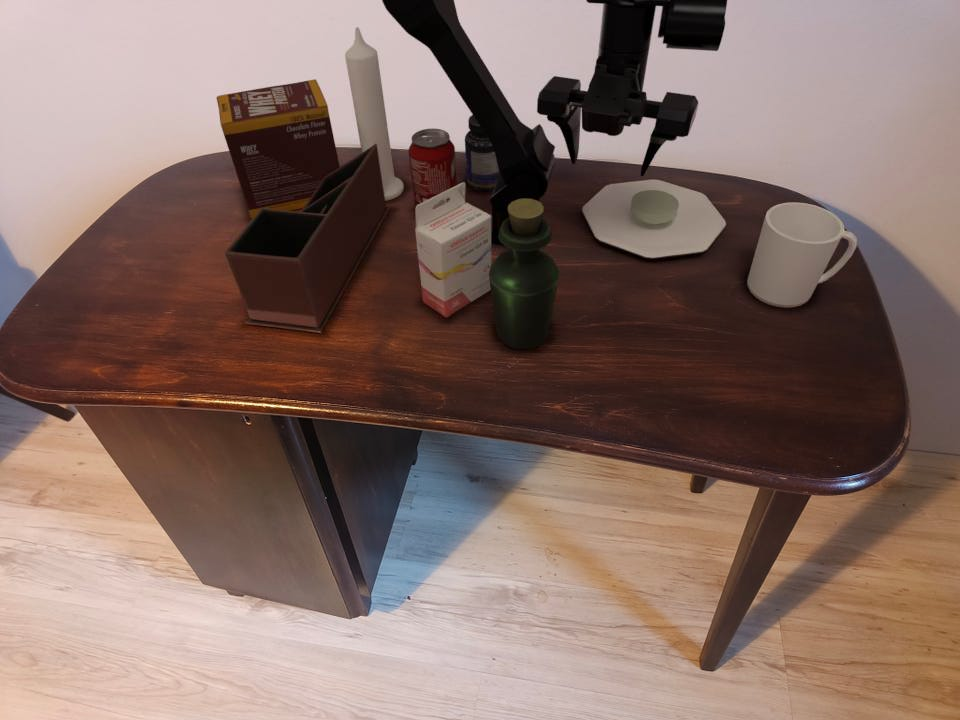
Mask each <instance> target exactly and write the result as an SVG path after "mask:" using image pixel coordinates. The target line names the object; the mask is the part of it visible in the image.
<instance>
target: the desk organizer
mask: <svg viewBox="0 0 960 720" xmlns="http://www.w3.org/2000/svg"><path fill="white" fill-rule="evenodd" d="M386 203H387V202H386V201H385V196H384V190H383V183H382V176H381V170H380V163H379V156H378V150H377V144H374V145H373V146H372V147H370V148H369V149H367V150H366V151H364V152H363V153H362V152H361V153H359V154H358V155H357V156H355V157H354V158H352V159H350V160H349V161H347V162H346V163H344V164H342V165H341V166H339V168H338V169H336V170H335V171H333V172H332V173H330V174H328V175H327V176H325V177H324V178H323V180H322V181H321V183H320V185H319V186H318V188H317V189H316V191H315V192H314V194H313V195H312V196H311V198H310V199H309V201H308V202H307V204H306V205H305V206H304V208H301V211H296V210H291V211H285V210H275V209H267V208H261V209H260V210H259V211H258V212H257V214H256V215H255V216H254V217H253V218H251V220H250V221H249V222H248V224H246V226H245V227H244V229H243V230H241V232H240V233H239V234H238V236H237V237H235V239H234V240H233V242H232V243H231V244H230V245H229V246H228V248H227V249H226V250H225V252H224V255H225V257H226V260H227V263H228V265H229V269H230V271H231V273H232V274H233V278H234V280H235V282H236V285H237V288H238V290H239V294H240V296H241V299H242V301H243V303H244V306H245V309H246V312H247V315H248V318H247V319H246V321H245V324H246V325H251V326H262V327H270V328H279V329H284V330H285V329H286V330H294V331H301V332H309V333H316V334H323V330H324V329H325V327H326V326H327V323H328V321H329V320H330V318H331V316H332V315H333V312H334V311H335V309H336V307H337V305H338V303H339V302H340V300H341V298H342V297H343V295H344V292H345V291H346V288H347V287H348V285H349V284H350V282H351V280H352V278H353V276H354V274H355V272H356V271H357V269H358V267H359V265H360V263H361V261H362V260H363V259H364V256H365V255H366V253H367V251H368V249H369V248H370V247H371V244H372V242H373V240H374V239H375V237H376V235H377V233H378V232H379V230H380V228H381V226H382V225H383V223H384V221H385V219H386V217H387V216H388V213H389V212H390V210H391V208H392V207H390V206H387V205H386Z"/></svg>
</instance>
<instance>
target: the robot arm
mask: <svg viewBox="0 0 960 720" xmlns="http://www.w3.org/2000/svg"><path fill="white" fill-rule="evenodd" d="M381 2H382V4H383V7H384V9H385V10H386V11H387V12H388V14H389V15H390V16H391V17H392V18H393V19H394V20H395V22H397V23H398V25H399V26H400V27H401V28H402V29H403V31H405V33H407V34H408V36H411V37H412V38H414V39H415V40H416V41H418V42H419V43H421V44H422V45H424V46H425V47H427V49H429V50H430V52H431V53H432V55H433V56H434V58H435V59H436V61H437V63H438V64H439V65H440V68H442V71H443V72H444V74H445V75H446V77H447V78H448V79H449V81H450V82H451V84H452V85H453V87H454V88H455V90H456V91H457V93H458V95H459V96H460V97H461V99H462V102H464V103H465V105H466V106H467V107H466V108H468V110H469V112H470V113H471V115H473V116H474V117H475V119H476V120H477V122H478V123H479V125H480V126H481V128H482V130H483V131H484V133H485V134H486V136H487V137H488V139H489V140H490V142H491V143H492V145H493V148H494V152H495V156H496V160H497V164H498V168H499V172H500V175H499V178H498V180H497V183H496V185H495V188H494V190H493V191H492V193H491V196H490V198H489V203H490V205H491V243H494V244H498V245H503V244H502V243H501V242H500V240H499V237H498V235H499V231H500V228H501V225H502V223H503V222H504V221H505V220H506V219H507V218H509V213H508V206H509V204H510V203H511V202H513V201H515V200H518V199H533V200H536V201H538V202H540V203H541V198H542V197H543V196H544V195H545V194H546V192H548V188H549V184H550V181H551V177H552V174H553V171H554V167H555V162H556V157H555V154H554V152H555V149H556V146H555V145H554V143H551V141H550V140H549V138H547V135H546V133H545V129H544V128H543V126H542V125H541V124H540V123H539V124H537V125H535V127H533V128H530V127H529V126H528V125H527V124H525V123H523V122H522V121H521V120H520V118H519V117H518V115H517V113H516V112H515V111H514V109H513V107H512V106H511V104H510V103H509V101H508V100H507V98H506V96H505V94H504V93H503V91H502V89H501V88H500V86H499V84H498V83H497V82H496V80H495V79H494V76H493V75H492V73H491V72H490V70H489V68H488V67H487V66H486V64H485V62H484V61H483V59H482V57H481V56H480V53H478V51H477V49H476V47H475V46H474V44H473V42H472V41H471V39H470V38H469V36H468V34H467V33H466V31H465V29H464V28H463V26H462V25H461V22H460V20H459V16H458V12H457V7H456V4H455V0H381ZM586 3H588V4H603V5H602V13H601V23H600V34H599V40H598V52H597V58H596V59H595V66H594V72H593V75H592V77H591V79H590V82H589V83H588V88H587V90H582V88H581V87H582V83H581V80H580V79H578V78H571V77H563V76H557V75H554V76H552V77H551V78H550V79H549V80H548V81H547V83H545V85H544V86H543V88H541V90H540V91H539V93H538V96H537V103H536V113H537V114H539V115H540V116H541V115H542V116H546V119H547V121H548V122H551V123H553V124H555V125H557V127H558V128H559V129H560V131H561V133H562V136H563V138H564V143H565V146H566V149H567V153H568V155H569V160H570V162H571V164H572V165H575V164H577V161H578V157H579V151H580V135H581V128H582V130H583V131H584V132H587V133H600V134H606V135H607V136H611V137H616V136H619V135H620V134H622V133H623V131H624V129H625V127H629V128H630V127H632V125H637V126H639V125H641V124H642V121H643V119H644V118H646V119H653V120H655V124H654V127H653V129H652V131H651V134H650V137H649V143H648V146H647V148H646V151H645V154H644V158H643V161H642V163H641V167H640V177H645V174H646V172H647V171H648V170H649V167H650V165H651V163H652V162H653V160H654V158H655V156H656V154H658V151H660V149H661V147H662V146H663V145H664V144H665V143H666V142H667V141H668V142H674V141H676V140H677V138H684V137H688V136H689V135H690V132H691V129H692V127H693V124H694V121H695V119H696V116H697V111H698V107H699V101H698V99H697V97H696V95H693V94H685V93H678V92H671V91H666V93H665V95H664V96H663V99H662V101H658V100H650V99H648V96H647V92H646V91H643V90H644V84H645V78H646V72H647V65H648V60H649V59H648V58H649V53H650V47H651V41H652V34H653V29H654V22H655V15H656V10H657V7H661V11H660V16H659V17H660V19H659V24H658V31H657V39H662V44H664V45H665V48H666V49H673V50H674V49H676V50H691V51H692V50H693V51H707V52H708V51H709V52H718V51H719V49H720V46H721V43H722V40H723V37H724V33H725V27H726V12H727V6H728V0H586ZM542 218H543V219H544V213H543V214H542ZM503 246H504V245H503Z"/></svg>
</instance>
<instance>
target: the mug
mask: <svg viewBox="0 0 960 720" xmlns="http://www.w3.org/2000/svg"><path fill="white" fill-rule="evenodd" d="M842 239H844V240H847V242H848V247H847V248H846V250H845V251H844V254H843V255H841V257H840V258H839V260H838V261H836V262H835V264H834V265H833V266H832V267H831V268H830V269H829V270H827V271H826V272H825V270H826V269H827V266H829V265H828V264H830V263H829V262H830V261H831V259H832V257H833V255H834V254H835V251H836V249H837V247H838V245H839V244H840V242H841V240H842ZM857 247H858V238H857V236H855V234H854V233H853V232H851V231H848V230H845V226H844V222H843V221H842V220H841V219H840V218H839V217H838V216H837V214H835V213H833V212H832V211H830V210H827V209H826V208H824V207H821V206H818V205H815V204H811V203H806V202H796V201H794V202H793V201H791V202H782V203H779V204H776V205H773V206H772V207H770V208H769V209H768V210H767V211H766V215H765V216H764V220H763V224H762V227H761V230H760V234H759V237H758V241H757V245H756V248H755V252H754V255H753V258H752V262H751V266H750V269H749V273H748V276H747V280H746V283H747V288H748V290H749V292H750V293H751V294H752V295H753V296H754V297H755V298H756V299H757V300H759V301H760V302H762V303H764V304H766V305H770V306H771V307H777V308H783V309H787V308H788V309H789V308H797V307H801V306H802V305H803V304H804V305H805V304H806V303H807V302H809V300H810V299H811V298H812V296H813V294H814V292H815V290H816V288H817V286H818V284H823V283H824V282H826V281H828V280H830V279H831V278H832V277H833V276H834V275H836V274H837V273H838V272H839V271H840V270H841V269H842V268H843V267H844V266H845V265H846V264H847V262H848V261H849V260H850V259H851V258H852V256H853V254H854V252H855V251H856V249H857ZM824 272H825V273H824Z"/></svg>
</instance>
